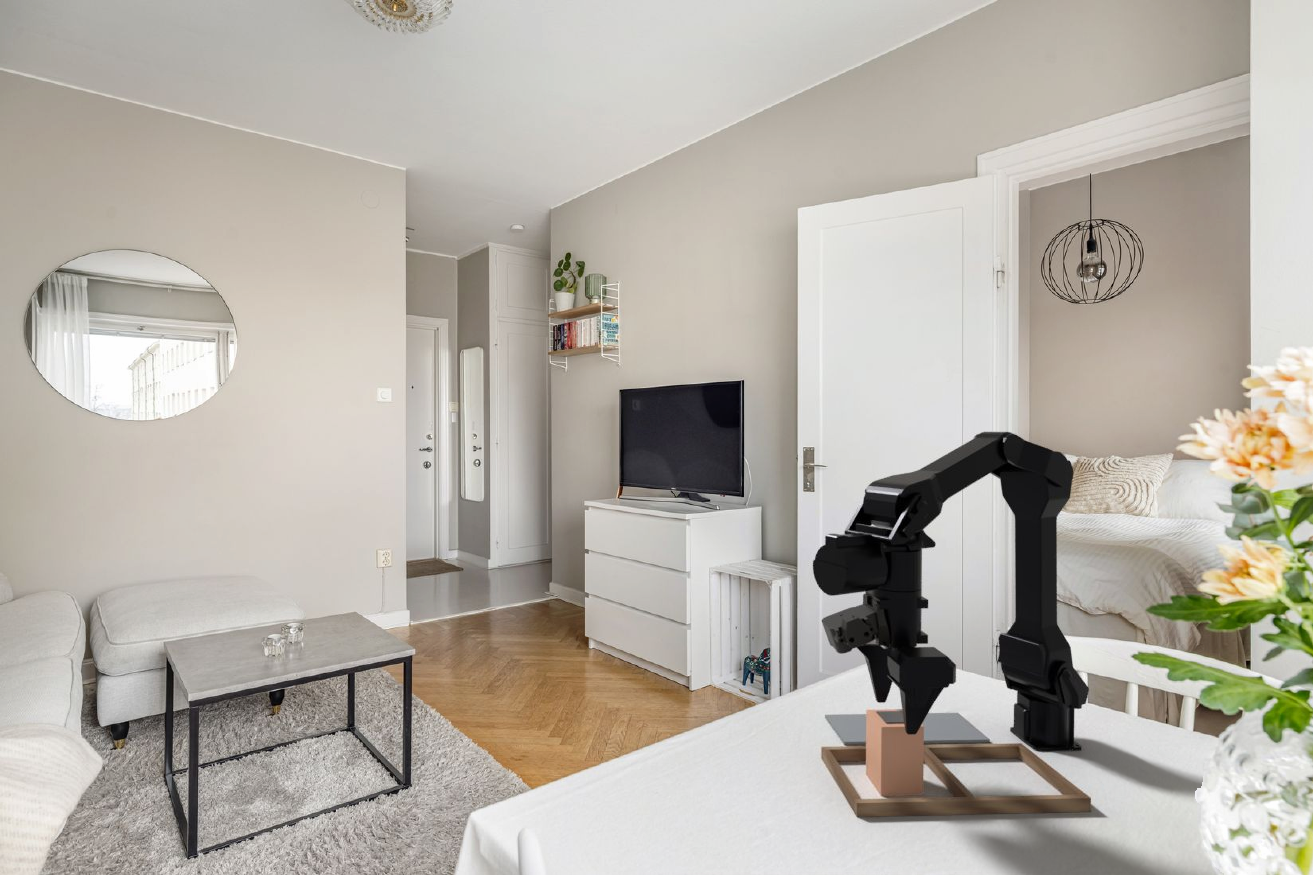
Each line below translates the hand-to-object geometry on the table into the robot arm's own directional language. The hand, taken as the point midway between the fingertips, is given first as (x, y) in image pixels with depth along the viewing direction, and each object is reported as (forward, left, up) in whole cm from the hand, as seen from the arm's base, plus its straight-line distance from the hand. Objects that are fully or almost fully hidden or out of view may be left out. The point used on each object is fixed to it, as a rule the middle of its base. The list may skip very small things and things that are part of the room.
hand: (895, 717), depth 84 cm
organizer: (-6, 0, -8) cm, 10 cm away
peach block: (0, 0, -8) cm, 8 cm away
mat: (-7, -15, -8) cm, 18 cm away
